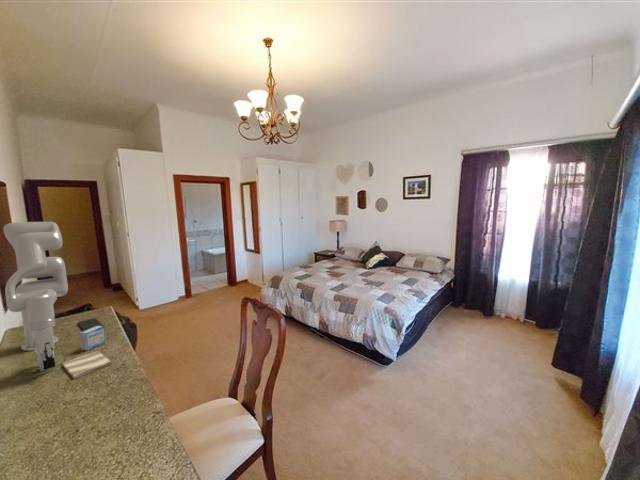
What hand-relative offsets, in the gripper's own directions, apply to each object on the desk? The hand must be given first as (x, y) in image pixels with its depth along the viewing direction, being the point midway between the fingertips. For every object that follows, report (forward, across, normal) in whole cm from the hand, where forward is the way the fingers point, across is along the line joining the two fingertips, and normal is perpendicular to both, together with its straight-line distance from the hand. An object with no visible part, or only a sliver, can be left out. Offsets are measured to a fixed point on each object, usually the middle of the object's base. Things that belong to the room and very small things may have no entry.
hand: (47, 364), depth 111 cm
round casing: (+2, 0, 0) cm, 2 cm away
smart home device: (+2, -38, +24) cm, 45 cm away
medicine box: (+2, -7, +17) cm, 18 cm away
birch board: (+2, +11, +10) cm, 15 cm away
